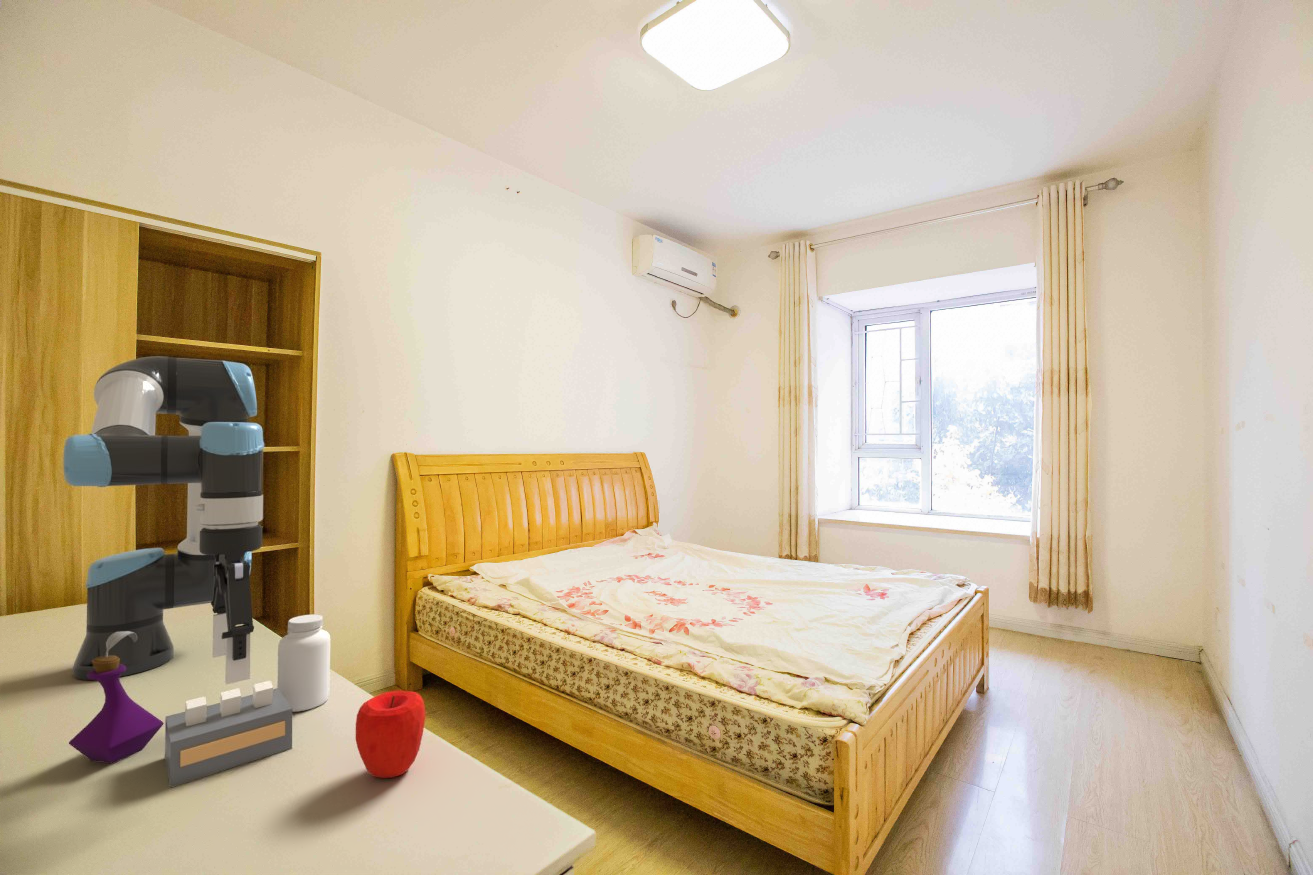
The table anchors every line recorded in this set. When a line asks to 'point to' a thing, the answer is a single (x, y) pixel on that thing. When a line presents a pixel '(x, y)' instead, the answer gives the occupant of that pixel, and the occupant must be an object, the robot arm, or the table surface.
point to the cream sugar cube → (262, 694)
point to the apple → (390, 732)
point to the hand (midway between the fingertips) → (230, 667)
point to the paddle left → (195, 711)
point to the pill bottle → (304, 663)
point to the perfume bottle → (115, 714)
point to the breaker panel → (226, 738)
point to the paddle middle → (230, 702)
